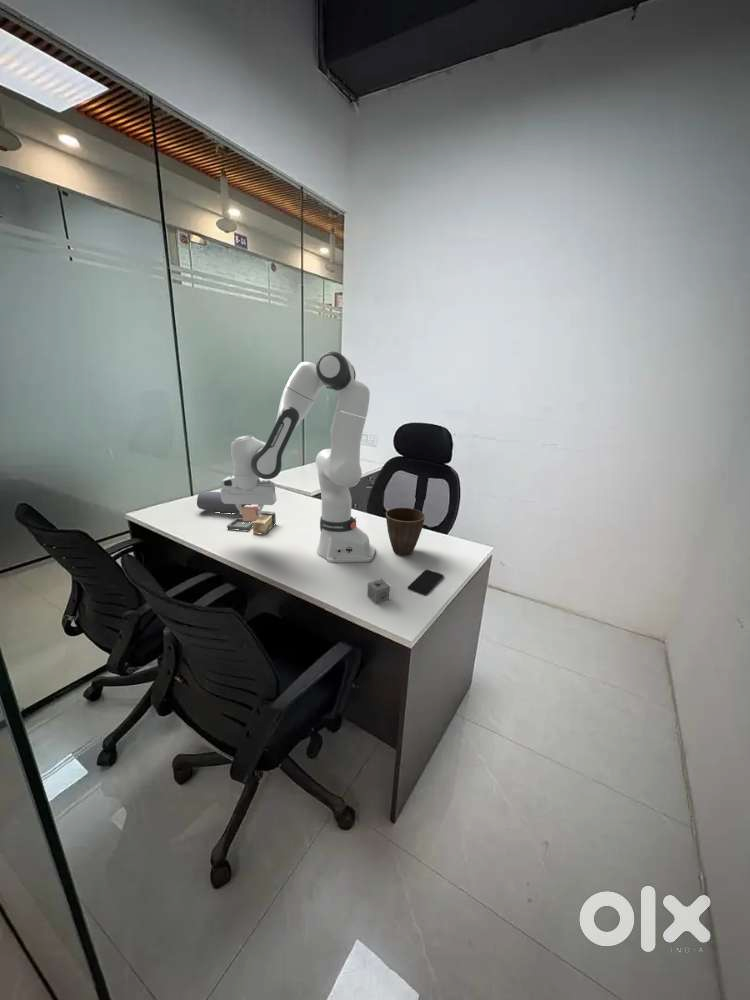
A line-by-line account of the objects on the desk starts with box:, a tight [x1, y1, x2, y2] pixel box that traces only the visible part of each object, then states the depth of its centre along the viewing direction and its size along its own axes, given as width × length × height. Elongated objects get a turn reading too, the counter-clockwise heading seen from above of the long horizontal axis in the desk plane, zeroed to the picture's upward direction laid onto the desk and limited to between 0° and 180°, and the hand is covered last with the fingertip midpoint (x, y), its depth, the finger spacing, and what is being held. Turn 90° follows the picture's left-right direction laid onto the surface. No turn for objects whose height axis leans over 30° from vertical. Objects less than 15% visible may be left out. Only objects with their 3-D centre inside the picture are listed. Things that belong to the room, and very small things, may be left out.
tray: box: [226, 517, 254, 531], centre depth 159 cm, size 9×9×2 cm
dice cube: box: [366, 578, 391, 605], centre depth 113 cm, size 5×5×5 cm
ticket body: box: [252, 510, 277, 535], centre depth 157 cm, size 6×12×6 cm, turn 176°
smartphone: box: [407, 569, 445, 597], centre depth 123 cm, size 7×1×15 cm
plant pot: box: [385, 507, 426, 557], centre depth 142 cm, size 15×15×16 cm
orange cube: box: [242, 505, 260, 521], centre depth 140 cm, size 5×4×5 cm
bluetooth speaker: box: [196, 491, 252, 514], centre depth 172 cm, size 23×9×10 cm, turn 84°
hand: (250, 514), depth 140 cm, fingers closed on orange cube, 5 cm apart
